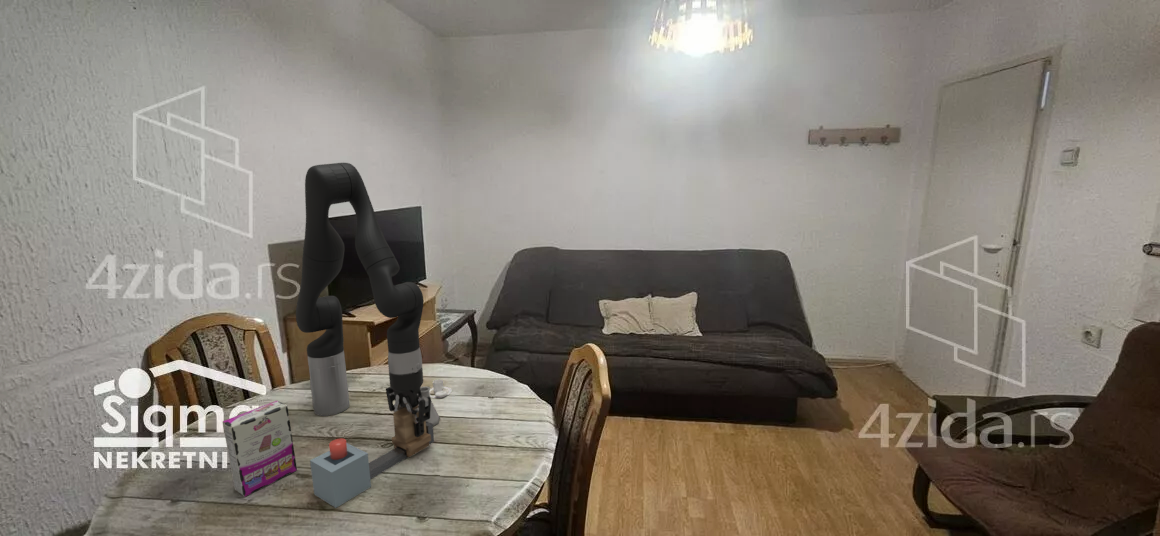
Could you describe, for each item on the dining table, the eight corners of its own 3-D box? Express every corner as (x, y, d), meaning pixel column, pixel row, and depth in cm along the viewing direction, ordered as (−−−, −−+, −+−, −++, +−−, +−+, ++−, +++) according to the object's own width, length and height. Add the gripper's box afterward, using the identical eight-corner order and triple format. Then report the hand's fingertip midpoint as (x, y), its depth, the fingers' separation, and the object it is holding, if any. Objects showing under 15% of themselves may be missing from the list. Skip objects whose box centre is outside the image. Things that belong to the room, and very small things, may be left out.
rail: (356, 478, 107) (353, 458, 106) (426, 438, 123) (424, 420, 122) (364, 482, 105) (362, 462, 104) (434, 441, 121) (432, 423, 120)
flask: (431, 430, 127) (429, 395, 125) (407, 428, 128) (404, 393, 126) (444, 417, 134) (442, 384, 132) (421, 415, 135) (418, 382, 133)
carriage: (392, 449, 117) (389, 411, 115) (412, 438, 122) (409, 401, 120) (411, 458, 113) (408, 418, 111) (431, 446, 118) (428, 408, 116)
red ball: (327, 456, 101) (325, 443, 100) (341, 449, 103) (340, 436, 103) (336, 461, 99) (334, 448, 98) (350, 454, 102) (349, 441, 101)
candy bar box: (286, 464, 112) (277, 399, 109) (297, 470, 110) (289, 404, 107) (232, 490, 103) (221, 420, 100) (243, 498, 100) (232, 426, 97)
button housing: (314, 494, 101) (309, 460, 100) (349, 474, 108) (345, 442, 107) (335, 508, 97) (331, 472, 96) (371, 486, 104) (367, 453, 102)
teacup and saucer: (447, 400, 145) (446, 387, 144) (421, 400, 145) (420, 387, 144) (455, 387, 153) (454, 375, 153) (430, 387, 154) (429, 375, 153)
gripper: (372, 365, 114) (378, 430, 117) (412, 378, 107) (417, 447, 110) (399, 356, 120) (404, 417, 123) (438, 367, 113) (443, 433, 116)
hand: (410, 431), depth 117 cm, fingers open, 5 cm apart
